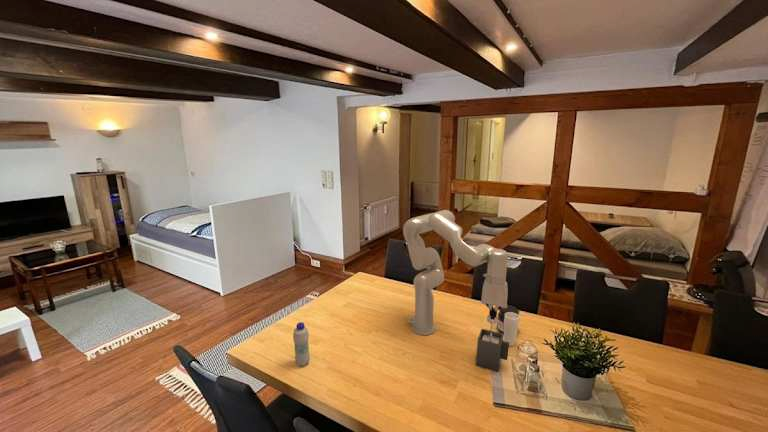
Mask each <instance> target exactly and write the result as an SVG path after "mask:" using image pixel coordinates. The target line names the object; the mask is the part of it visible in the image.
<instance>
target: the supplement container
mask: <svg viewBox="0 0 768 432" xmlns="http://www.w3.org/2000/svg"><path fill="white" fill-rule="evenodd" d="M507 312H513V313H516V314H518V315H519V320H520V319H521V317H520V310H519V309H518V308H517V307H515V306H514V305H508V304H507V308H501V309H499V310H498V312H497V317H498V322H497V323H496V324H497V325H496V329H497V331H499V332H498V333H502V334H504V316H505V313H507ZM518 332H519V330H518V331H517V334H518Z"/></svg>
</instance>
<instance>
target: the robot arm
mask: <svg viewBox="0 0 768 432" xmlns="http://www.w3.org/2000/svg"><path fill="white" fill-rule="evenodd" d="M429 231H434V232H435V233H437V234H438V235H439V236H441V237H442V238H443V239H444V240H446V241H448V243H450V244H449V245H450V247H451V249H452V252H454V254H455V255H456V257H457V258H458V259H460V260H461V261H462V262H464V263H465V264H466V265H469V266H470V267H478V266H480V265H482V264H484V263H487V270H486V273H482V277H484V278H485V279H484V281H483V285H482V290H481V298H480V299H481V301H480V303H481V304H482V305H485V306H486V307H487V308H488V310H489V312H488V313H489V314H488V315H489V316H491V318H490V319H492V318H493V319H495V317H498V312H499V309H501V308H507V305H508V304H507V303H508V296H509V295H508V282H507V281H506V279H507V271H508V270H507V268H508V257H509V254H508V252H507V251H506V250H504V249H502V248H496V247H494V246H492V245H489V244H486V243H482V244H479V245H476V246H474V247H471V246H470V245H468V244H467V243H466V242H464V241H463V239H462V235H463V231H464V230H463V228H462V227H461V226H460V225H459V224H457V223H456V216H455V215H454V213H453V212H452V211H451V210H448V209H442V210H439V211H436V212H431V213H427V214H422V215H419V216H415V217H411V218H410V219H408V220H406V222H405V223H404V224H403V227H402V233H403V237H404V240H405V242H406V244H407V245H406V246H407V249H408V253H409V257H410V261H411V265H412V267H413V268H414V269H415V270H416V271H422V270H424V271H422V272H419V273H418V274H416V276H415V277H414V279H413V286H414V317H412V316H407V322H408V324H411V330H412V331H413V333H415V334H418V335H420V336H431V335H432V334H434V333H435V332H436V327H437V326H436V325H435V324H434V306H435V305H434V304H435V302H434V301H435V300H434V299H435V298H434V294H433V292H432V290H433V289H435V288H436V287H438V286H440V285H442V284H443V282H444V280H445V273H444V269H443V264H442V260H441V256H440V254H439V252H438V251H437V250H436V248H433V247H431V246H430V247H426V245H425V240H424V239H423V238H422V237H421V235H420V234H424V233H427V232H429ZM425 269H426V270H425Z"/></svg>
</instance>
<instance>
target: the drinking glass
mask: <svg viewBox="0 0 768 432" xmlns="http://www.w3.org/2000/svg"><path fill="white" fill-rule="evenodd" d="M519 317H520V314H519V315H518V314H516V313H513V312H507V313H505V316H504V335H503V341H505V342H509V347H511V346H512V347H513V346H515V344H516V340H517V335H518V333H517V331H518V332H519V325H520V319H519Z"/></svg>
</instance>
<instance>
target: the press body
mask: <svg viewBox="0 0 768 432" xmlns="http://www.w3.org/2000/svg"><path fill="white" fill-rule="evenodd" d="M480 329H481V330H480V332H479V336H478V338H477V343H476V344H477V345H476V346H477V347H476V359H475V366H476V367H478V368H482V369H486V370H489V371H493V372H496V373H499V371H500V366H501V361H502V360H505V361H508V359H509V358H508V357H509V347H510V346H509V342H505V341H504V334H502V333H501V332H497V331H494V330H493V332H492V336H495V337H499V338H500V340H499V344H496V343H492V342H488V341H484V340H482V338H483V335H484V334H486V335H490V329H486V328H480Z"/></svg>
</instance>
